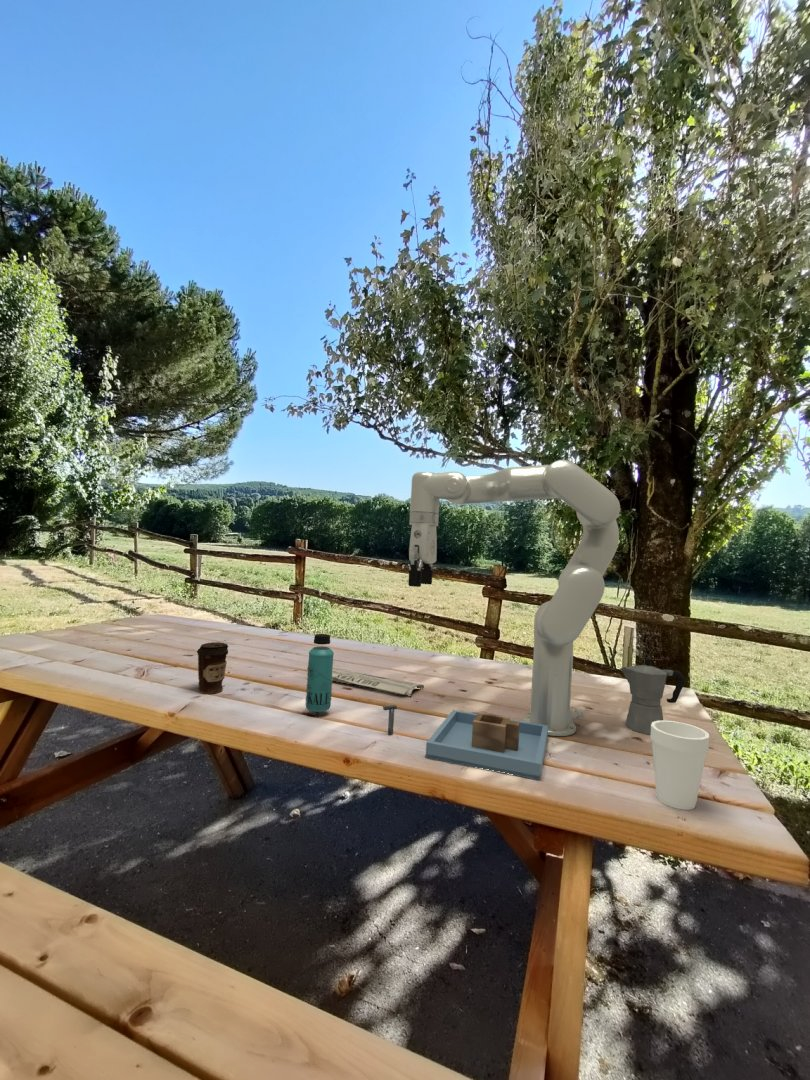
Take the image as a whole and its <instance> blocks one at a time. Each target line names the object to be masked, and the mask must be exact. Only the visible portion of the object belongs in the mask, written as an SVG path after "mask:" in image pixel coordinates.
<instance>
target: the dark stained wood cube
mask: <svg viewBox="0 0 810 1080" xmlns="http://www.w3.org/2000/svg"><path fill="white" fill-rule="evenodd" d="M476 714H477V716H476V717H475V719H474V721H473V728H472V747H474V748H480V749H485V750H491V751H496V752H501V753H504V752H505V749H508V750H513V751H517V750H518V747H519V729H520V722H517V721H511V720H510V719H511V718H510V716H506V715H500V714H494V713H487V712H482V711H478V713H476Z"/></svg>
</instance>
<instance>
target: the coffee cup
mask: <svg viewBox="0 0 810 1080" xmlns="http://www.w3.org/2000/svg"><path fill="white" fill-rule="evenodd" d="M228 648H229V645H228V644H227V643H224V642H219V641H218V642H214V641H213V642H206V643H203V644H201V645H200V647H199V648H198V649H197V651H196V653H197V673H198V676H197V677H198V692H199V693H200V694H216V693H217V694H218V693H220V692H222V691H223V690H224V688H223V687H224V685H223V681H224V679H225V673H226V668H227V655H229V650H228Z"/></svg>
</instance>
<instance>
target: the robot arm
mask: <svg viewBox="0 0 810 1080" xmlns="http://www.w3.org/2000/svg"><path fill="white" fill-rule="evenodd" d="M410 491H411V492H410V508H409V523H408V524H409V526H411V529H410V530H411V531H410V539H409V548H408V558H409V561H408V563H409V567H408V582H407V583H408V584H407V585H408V586H409V587H416V588H420V587H421V586H422V585H432V584H433V571H434V570H433V568H434V566H433V564H434V563H436V562H437V554H438V553H437V549H438V546H437V545H438V544H437V540H438V538H437V535H438V534H437V527H438V526H439V515H440V514H439V513H440V500H445V501H447V502H449V503H451V504H455V505H467V504H481V503H482V504H483V503H493V502H494V503H495V502H499V503H500V502H501V503H502V502H503V503H505V502H514V501H515V502H516V501H529V500H551V499H560V500H561V501H563V502H564V503H565V504H566V505H568V506H569V507H570V508H572V509H573V511H575V512H576V517H577V519H578V521H579V522H580V525H581V526H582V532H583V533H582V537H581V540H580V542H579V544H578V545H577V548H576V550H575V552H574V553H573V555H572V556H571V558H570V559H569V561H568V563H567V565H566V566H565V568H564V569H562V571H561V573H560V575H559V577H558V581H557V586H558V588H557V589H556V591H555V593H554V595H553V596H552V597H551V599H550V600H548V601H546V602H544V603H542V604H540V606H539V607H537V610H536V611H535V615H534V619H533V659H532V673H531V675H532V677H531V692H530V693H531V694H530V708H529V711H530V712H529V714H528V715H526V716H525V717H524V718H523V721H524V722H530V723H536V724H543V725H548V736H552V737H566V736H567V737H568V736H571V735H574V734H575V732H576V730H577V729H576V728H577V727H576V725H575V723H574V722H573V721H574V720H575V719H582V718H584V717H585V713H584V711H583V710H582V709H578V710H573V709H572V708H571V697H572V680H573V677H572V676H573V665H574V664H573V663H574V641H576V640H577V638H578V637H579V636H580V635H581V633H582V631H583V630H584V628H585V627H586V625H587V623H589V621H590V619H591V617H593V616H592V615H593V614H594V612H595V611H596V609H597V607H598V606H599V604H600V602H601V601H602V598H603V596H604V594H605V593H604V592H605V584H606V583H605V580H604V577H603V576H604V575H605V572H606V571H607V570H608V567H609V565H610V563H611V562H612V560H613V558H614V556H615V554H616V553H617V550H618V547H619V543H620V532H619V531H620V530H619V525H618V522H617V519H618V517H619V514H620V513H621V505H620V501H619V499H618V498H617V495H615V494H614V492H612V491H611V490H609V488H607V487H606V486H605V485H604V484H602V483H601V482H600V481H598V480H597V479H595V478H594V477H593V476H592V475H591V474H589V473H588V472H587V471H585V470H584V469H583V468H581V467H580V466H579V465H578V464H576V463H574V462H572V461H571V460H568V459H558V460H555V461H554V462H551V464H544V465H542V464H541V465H528V466H511V467H507V468H504V469H501V470H499V471H495V472H492V473H489V474H488V473H487V474H481V475H470V476H469V475H468V476H465V474H464V473H461V472H458V471H447V472H446V471H445V472H437V473H435V472H430V471H419V472H415V473H414V474H413V475H412V477H411V490H410Z"/></svg>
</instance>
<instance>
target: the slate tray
mask: <svg viewBox="0 0 810 1080" xmlns="http://www.w3.org/2000/svg"><path fill="white" fill-rule="evenodd" d="M477 714H478V713H475V712H470V711H469V712H468V711H463V710H457V709H453V710H451V712H450V713H449V714H448V715H447V716H446V718H445V719H444V720H443V721H442V723H441V724H440V725H439V726H438V727H437V729H436V730H435V731H434V732H433V733H432V734H431V736H430V737H429V739H428V740H427V741H426V744H425V745H426V747H425V759H429V760H430V759H431V760H435V761H440V762H446V763H450V764H454V765H455V764H456V765H458V766H459V765H460V766H465V767H469V768H474V769H475V767H477V768H476V769H479V768H483V769H482V770H484V769H489V770H494V771H500V772H505V773H509V774H513V775H512V776H514V775H518V776H517V777H519V776H523V777H522V778H524V777H527V778H526V779H529V778H532V779H531V780H534V779H536V780H535V781H539V780H540V781H541V778H542V777H541V776H542V773H543V771H542V770H543V767H544V766H543V765H544V761H545V754H546V750H547V744H548V740H549V738H548V737H549V735H548V725H543V724H536V723H530V722H524V720H517V719H511V718H510V720H511V721H517V722H520V729H519V747H518V750H517V751H513V750H508V749H505V752H504V753H501V752H496V751H491V750H485V749H480V748H474V747H472V728H473V721H474V719H475V717H476V716H477ZM489 770H488V771H489ZM494 771H493V772H494ZM509 774H508V775H509Z"/></svg>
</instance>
